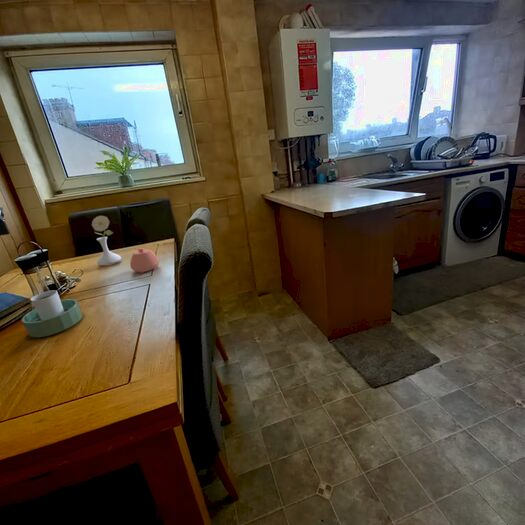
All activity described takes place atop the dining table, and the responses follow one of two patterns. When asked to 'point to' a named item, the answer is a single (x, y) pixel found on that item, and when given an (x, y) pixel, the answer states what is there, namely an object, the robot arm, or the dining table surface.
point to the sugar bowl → (143, 260)
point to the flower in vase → (104, 242)
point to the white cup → (47, 304)
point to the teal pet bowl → (52, 320)
